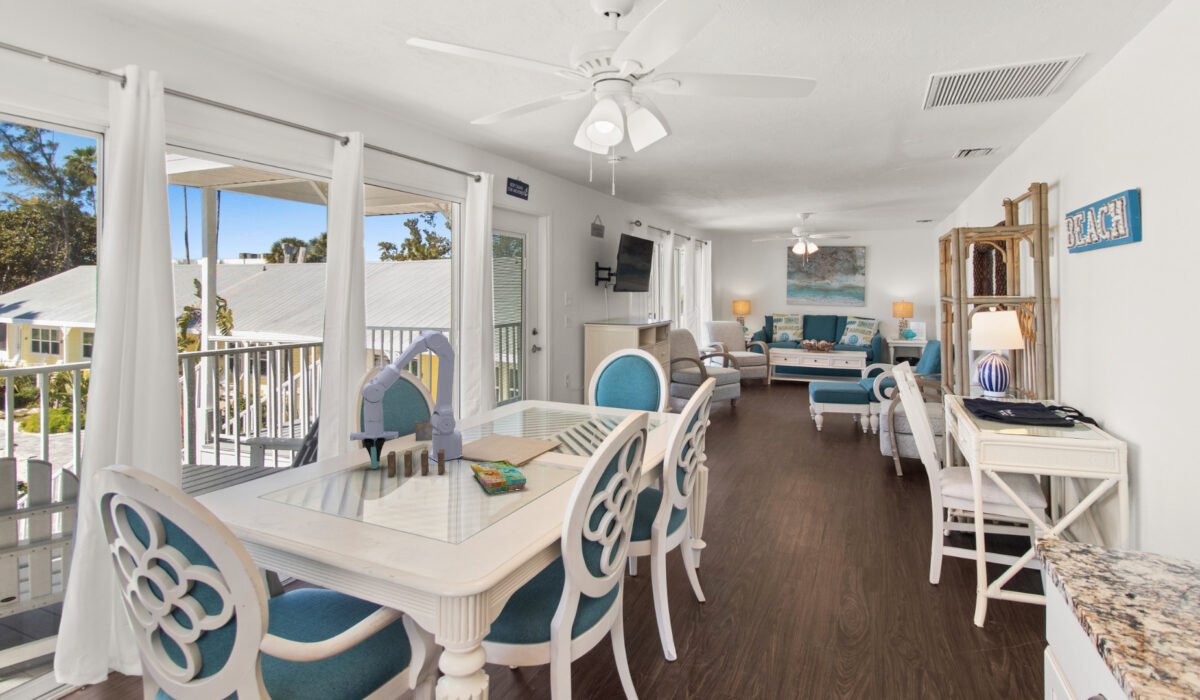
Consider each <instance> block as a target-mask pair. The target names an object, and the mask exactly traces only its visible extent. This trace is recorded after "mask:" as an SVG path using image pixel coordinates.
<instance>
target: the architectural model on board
mask: <svg viewBox="0 0 1200 700" xmlns="http://www.w3.org/2000/svg"><path fill="white" fill-rule="evenodd" d="M414 425H415V427H414V429H415V431H414V433H415V435H414V436H415V441H416V442H422V441H423V442H424V441H427V442H428V441H432V431H433V428H434V427H433V426H432V425H431V423H430V419H429V420H427V419H426V420H421V421H417V420H415V422H414Z"/></svg>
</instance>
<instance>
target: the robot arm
mask: <svg viewBox="0 0 1200 700" xmlns="http://www.w3.org/2000/svg"><path fill="white" fill-rule="evenodd" d="M429 350H430V351H431V352H432V353H433V354H434V355H435V356H436V357H437V358H438V367H437V381H436V383H437V384H436V395H435V399H436V400H435V404H434V406H433V412H432V414H431V416H430V418H429V420H430V423H431V425H432V426H433V427H434V428H433V431H432V440H431V441H432V444H431V445H432V446H431V447H432V454H430V455H429V454H428V458H429V459H431V460H433V461H435V462H437V463H438V451H439V449H444V453H445V461H449V460H454V459H460V457H461V456H460V455H463V439H462V435H461V432H460V431H459V430H457V429H456V430H455V428H456V420H455V418H454V410H453V405H452V401H453V400H452V399H453V388H454V387H453V386H454V384H453V383H454V371H455V368H454V367H455V355H456V354H455V351H454V349H453V348H452V346H451V344H450V341H449V338H448V337H447V336H446V335H445V334H443V333H442V332H441V331H439V330H433V329H425V330H423V331H422V332H421V333H420V335H418V336H416V337H415V338H414V340H412V341H411V343H410V344H409V345H408V346H407V347H406V349H405V350H404V351H402V353H401V354H400V355H399V356H398V357H397V359H395V360H394V361H393V363H391V364H390V363H389V364H385V366H383V365H382V366H381V367H380V368H379V369H380V370H379V372H378V373H376V375H375V376H374V377H371V378H369V382H366V383H365V384H364V385H363V386H362V389H361V391H360V393H361V395H362V398H363V421H364V422H363V423H364V425H363V426H364V431H363V432H354V433H353V432H352V433H351V434H349V441H350V442H352V441H359V440H360V441H361V440H362V441H363V442H362V443H363V446H364V447H365V449H366V450H367V453H368V455H369V458H370V460H371V447H372V446H373V445H374V444H375V447H376V452H377V462H379V461H380V462H381V454H382V451H383V447H384V444H385V442H386V440H390V439H391V440H392V439H393V440H397V439H399V431H388V430H387V431H386V430H384V427H385V425H384V407H383V398H384V396H385V392H386V391H388V390H389V389H390V387H392V385H393V384H394V383H396V382H397V380H398V379H399V378H400V377H401V371H402V370H403V368H405V367H406V366H407V365H408V364H409V363H410V362H411V361H412V360H413V359H414V358H415V357H416V356H417V355H418V354H422V353H427V352H429ZM461 458H462V457H461Z"/></svg>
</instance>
